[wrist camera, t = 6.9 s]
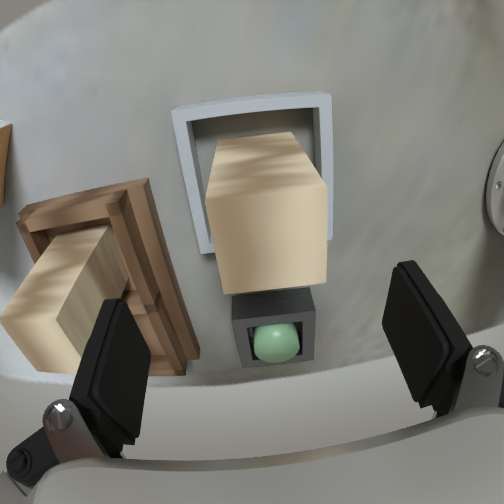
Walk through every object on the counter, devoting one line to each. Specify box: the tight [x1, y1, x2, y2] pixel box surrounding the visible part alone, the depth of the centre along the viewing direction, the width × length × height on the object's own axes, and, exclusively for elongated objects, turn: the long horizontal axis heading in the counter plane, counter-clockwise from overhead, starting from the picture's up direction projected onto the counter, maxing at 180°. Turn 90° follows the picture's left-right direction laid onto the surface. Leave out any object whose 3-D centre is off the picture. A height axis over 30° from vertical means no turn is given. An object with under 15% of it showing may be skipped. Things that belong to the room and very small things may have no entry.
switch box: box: [232, 287, 316, 368], centre depth 30 cm, size 7×7×3 cm
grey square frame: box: [171, 91, 333, 254], centre depth 22 cm, size 10×11×2 cm
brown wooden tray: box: [16, 178, 200, 376], centre depth 27 cm, size 12×19×4 cm, turn 6°
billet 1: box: [0, 224, 129, 374], centre depth 20 cm, size 5×5×10 cm
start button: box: [253, 322, 300, 363], centre depth 29 cm, size 4×4×3 cm
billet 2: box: [205, 132, 328, 294], centre depth 18 cm, size 5×5×10 cm
